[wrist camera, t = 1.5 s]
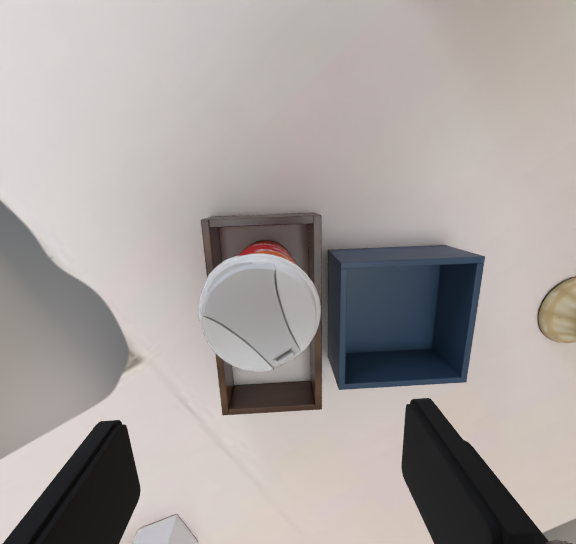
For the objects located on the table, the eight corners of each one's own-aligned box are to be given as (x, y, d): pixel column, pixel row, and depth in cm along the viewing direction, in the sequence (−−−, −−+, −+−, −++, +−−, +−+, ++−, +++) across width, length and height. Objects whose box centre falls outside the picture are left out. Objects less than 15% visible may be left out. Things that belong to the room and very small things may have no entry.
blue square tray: (328, 249, 30) (340, 262, 24) (445, 245, 30) (485, 256, 25) (327, 356, 33) (338, 390, 27) (433, 350, 34) (466, 382, 28)
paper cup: (315, 276, 31) (347, 338, 17) (256, 312, 31) (242, 399, 18) (276, 214, 29) (277, 229, 15) (214, 254, 30) (163, 302, 16)
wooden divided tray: (210, 216, 29) (200, 219, 25) (314, 212, 29) (321, 215, 25) (228, 390, 34) (222, 415, 30) (316, 385, 34) (321, 409, 30)
